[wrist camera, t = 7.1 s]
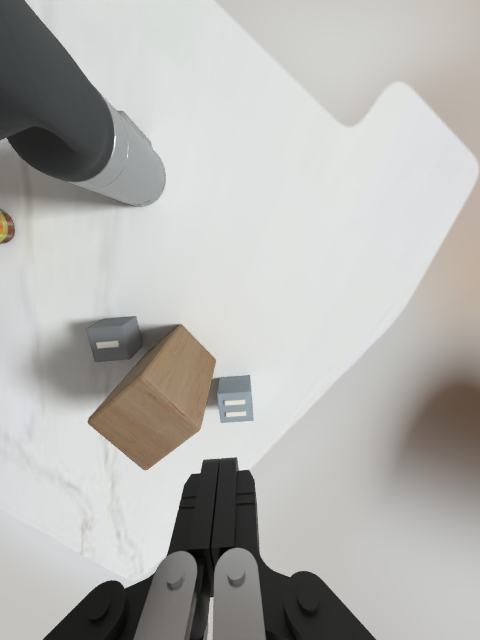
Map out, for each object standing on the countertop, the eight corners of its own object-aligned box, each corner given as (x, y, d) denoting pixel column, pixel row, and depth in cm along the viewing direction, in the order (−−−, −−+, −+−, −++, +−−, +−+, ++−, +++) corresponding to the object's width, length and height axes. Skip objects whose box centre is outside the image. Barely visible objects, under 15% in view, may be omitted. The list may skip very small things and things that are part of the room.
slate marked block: (219, 377, 52) (216, 394, 46) (250, 375, 51) (250, 392, 45) (223, 403, 53) (220, 423, 47) (252, 401, 53) (253, 421, 47)
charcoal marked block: (104, 318, 48) (85, 329, 42) (136, 316, 48) (121, 326, 42) (112, 348, 50) (94, 362, 44) (142, 346, 50) (128, 360, 44)
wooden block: (180, 389, 52) (145, 473, 33) (144, 355, 50) (84, 422, 31) (217, 360, 50) (201, 430, 31) (181, 322, 48) (141, 373, 29)
